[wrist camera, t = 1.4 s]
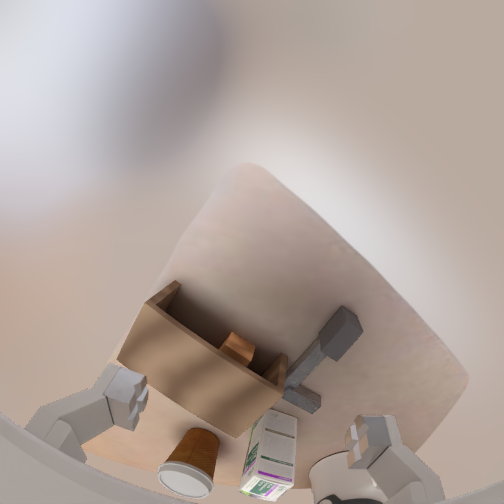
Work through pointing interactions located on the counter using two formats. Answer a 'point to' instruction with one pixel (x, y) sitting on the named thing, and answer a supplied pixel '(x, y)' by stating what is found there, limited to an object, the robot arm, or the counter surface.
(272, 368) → the walnut cubby
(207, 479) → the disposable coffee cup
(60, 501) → the robot arm
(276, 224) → the counter surface
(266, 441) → the syrup box
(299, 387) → the metal crook
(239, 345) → the orange block
